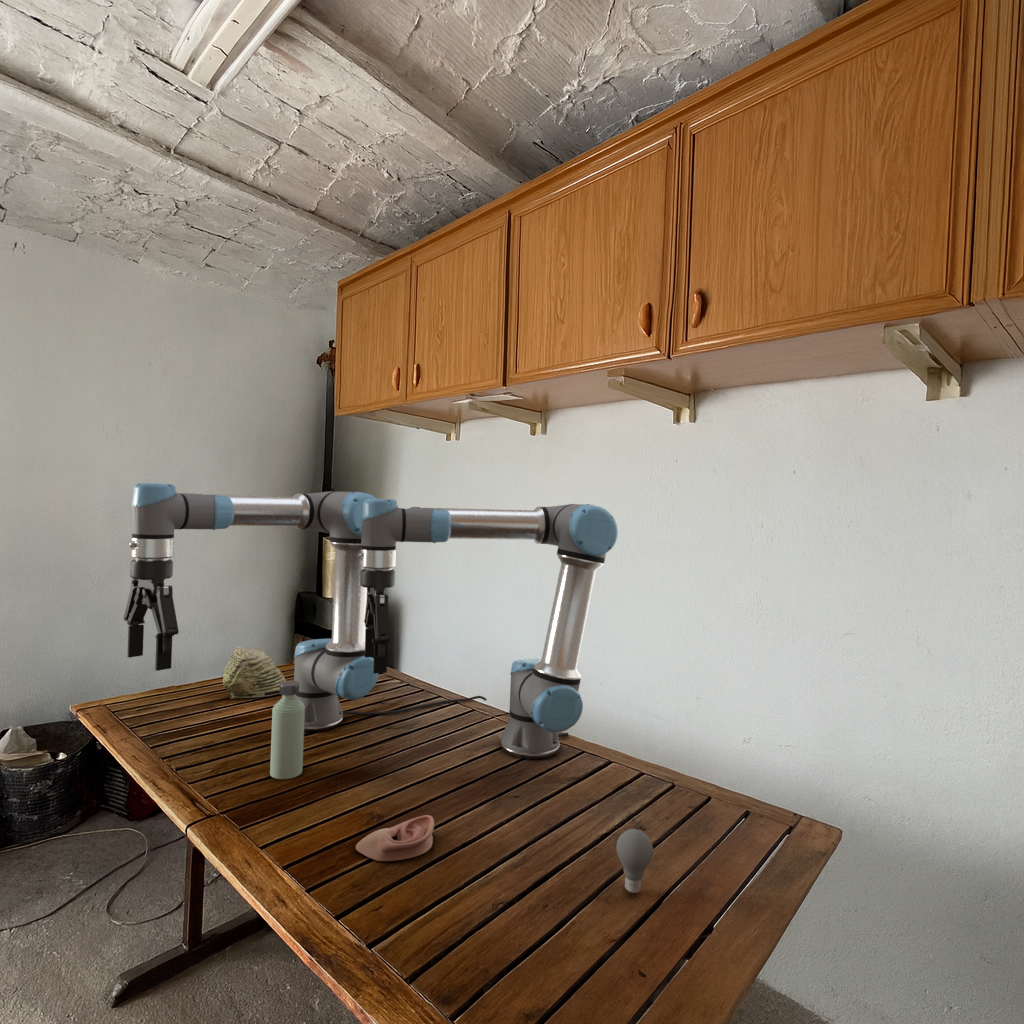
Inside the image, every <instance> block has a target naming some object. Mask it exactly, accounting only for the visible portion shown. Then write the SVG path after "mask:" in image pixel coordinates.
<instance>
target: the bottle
mask: <svg viewBox="0 0 1024 1024" xmlns="http://www.w3.org/2000/svg"><path fill="white" fill-rule="evenodd" d="M271 710H272V711H271V733H270V734H271V737H270V738H271V740H270V765H269V766H270V767H269V775H270V777H271V778H274V779H276V780H288V779H289V780H290V779H293V778H296V777H298V776H300V775H301V774H302V773H303V767H304V766H303V765H304V740H305V739H304V738H305V732H304V716H305V706H304V704H303V703H302V702H301V701H300V700H299V699H297V697H296V695H289V696H286V695H282V697H281V698H280V699H279V700H278V701H277V702H276V703H275V704H274V705H273V707H272V708H271Z"/></svg>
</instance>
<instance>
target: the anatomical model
mask: <svg viewBox="0 0 1024 1024" xmlns="http://www.w3.org/2000/svg"><path fill="white" fill-rule="evenodd" d="M434 829H435V820H434V817H433V816H432V815H429V814H425V815H420V816H417V817H414V818H411V819H408V820H405V821H402V822H401V823H398V824H396V825H394V826H391V827H384V828H380V829H377V830H374V831H373V832H370V833H369V834H367V835H366V836H365V837H363V838H362V839H360V840H359V841H358V842H357V844H356V845H355V851H357V852H358V853H360V854H362V855H364V857H366V858H369V859H371V860H373V861H377V862H392V861H393V862H395V861H401V860H407V859H412V858H416V857H418V856H421V855H423V854H425V853H427V852H428V851H430V849H431V848H432V847H433V843H434V838H433V837H434V836H433V832H434Z"/></svg>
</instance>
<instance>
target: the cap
mask: <svg viewBox="0 0 1024 1024" xmlns="http://www.w3.org/2000/svg"><path fill="white" fill-rule="evenodd" d="M279 693H280V694H279V695H281V696H283V695H286V696H289V695H296V694H298V693H299V682H298V681H294V680H286V681H284V682H281V683H280V692H279Z"/></svg>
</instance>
